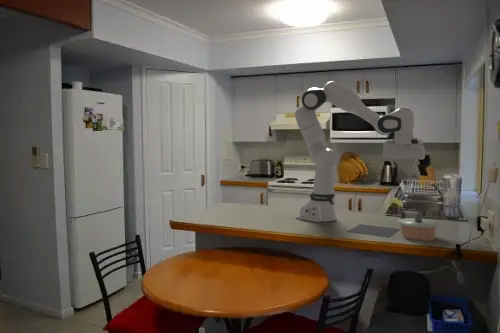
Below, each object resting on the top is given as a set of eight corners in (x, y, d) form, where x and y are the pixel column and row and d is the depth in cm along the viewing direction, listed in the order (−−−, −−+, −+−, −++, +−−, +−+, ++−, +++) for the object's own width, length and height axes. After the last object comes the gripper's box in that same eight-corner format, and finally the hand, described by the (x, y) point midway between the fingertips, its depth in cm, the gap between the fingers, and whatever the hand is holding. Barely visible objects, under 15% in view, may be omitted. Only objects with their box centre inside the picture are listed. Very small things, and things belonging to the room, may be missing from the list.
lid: (393, 224, 182) (394, 214, 182) (403, 218, 196) (403, 208, 196) (435, 229, 173) (435, 218, 173) (442, 222, 187) (442, 212, 187)
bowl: (398, 238, 183) (398, 224, 183) (405, 232, 195) (406, 219, 194) (431, 242, 175) (432, 228, 175) (437, 235, 187) (438, 222, 186)
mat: (345, 232, 193) (346, 231, 193) (360, 225, 210) (360, 224, 210) (389, 238, 182) (389, 237, 182) (400, 230, 199) (400, 229, 199)
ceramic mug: (421, 227, 204) (422, 212, 204) (405, 227, 204) (405, 212, 204) (413, 223, 215) (413, 208, 214) (397, 223, 215) (398, 208, 214)
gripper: (381, 140, 211) (380, 167, 212) (423, 140, 200) (422, 169, 201) (385, 140, 217) (384, 166, 218) (426, 140, 205) (425, 168, 206)
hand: (402, 167), depth 209 cm, fingers open, 8 cm apart
